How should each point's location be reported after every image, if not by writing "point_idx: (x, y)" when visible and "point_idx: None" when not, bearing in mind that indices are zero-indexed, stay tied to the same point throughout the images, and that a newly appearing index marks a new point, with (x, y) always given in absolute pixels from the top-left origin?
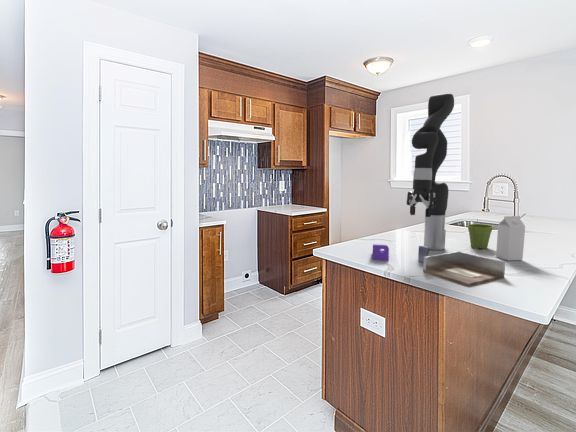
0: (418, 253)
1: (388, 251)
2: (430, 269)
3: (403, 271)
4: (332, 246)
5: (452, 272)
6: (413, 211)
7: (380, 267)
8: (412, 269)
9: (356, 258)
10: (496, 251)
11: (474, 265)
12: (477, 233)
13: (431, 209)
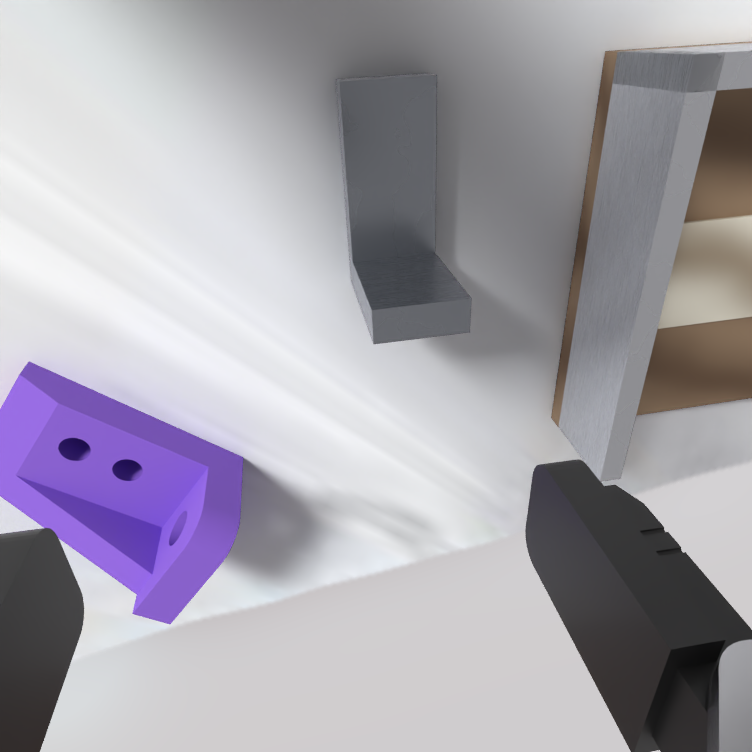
0: (361, 309)
1: (238, 508)
2: None
3: (483, 498)
4: None
5: (705, 320)
6: (31, 655)
7: (364, 559)
8: (483, 439)
9: (125, 596)
10: None
11: None
12: None
13: (746, 624)
